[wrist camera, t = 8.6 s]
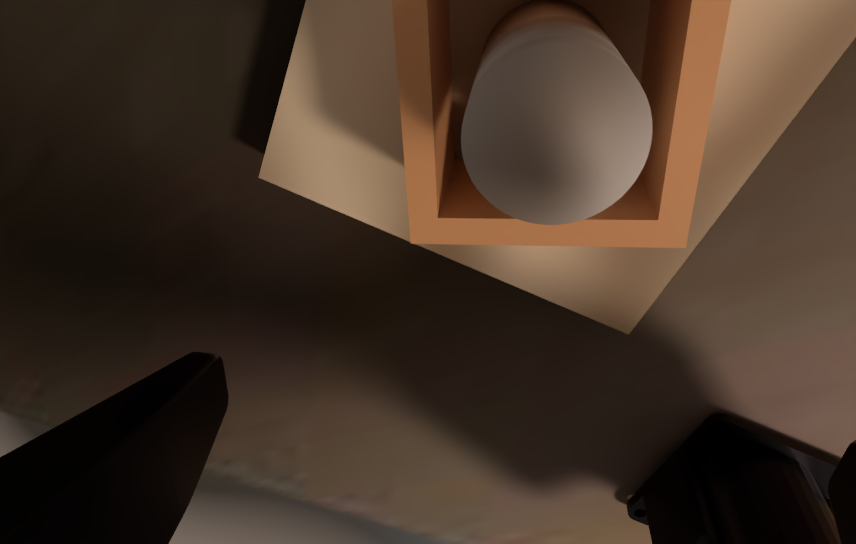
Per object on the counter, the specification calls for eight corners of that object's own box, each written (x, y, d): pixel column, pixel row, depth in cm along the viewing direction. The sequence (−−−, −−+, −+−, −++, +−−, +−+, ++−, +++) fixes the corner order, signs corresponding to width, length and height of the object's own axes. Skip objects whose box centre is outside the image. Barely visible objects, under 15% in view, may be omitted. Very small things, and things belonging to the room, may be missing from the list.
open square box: (691, -78, 14) (744, -73, 11) (653, 181, 17) (685, 247, 14) (418, -62, 15) (387, -53, 12) (431, 181, 18) (410, 243, 15)
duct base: (914, -90, 15) (1217, -89, 8) (622, 309, 21) (664, 479, 15) (417, -346, 13) (320, -578, 7) (275, 160, 20) (160, 276, 14)
